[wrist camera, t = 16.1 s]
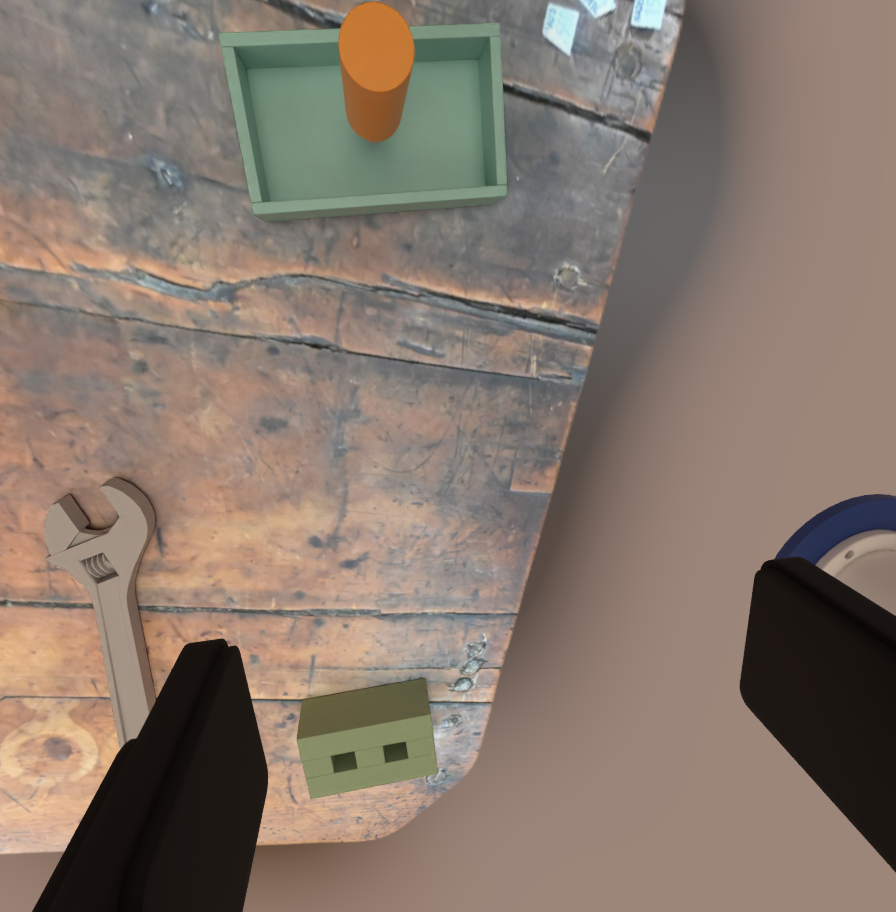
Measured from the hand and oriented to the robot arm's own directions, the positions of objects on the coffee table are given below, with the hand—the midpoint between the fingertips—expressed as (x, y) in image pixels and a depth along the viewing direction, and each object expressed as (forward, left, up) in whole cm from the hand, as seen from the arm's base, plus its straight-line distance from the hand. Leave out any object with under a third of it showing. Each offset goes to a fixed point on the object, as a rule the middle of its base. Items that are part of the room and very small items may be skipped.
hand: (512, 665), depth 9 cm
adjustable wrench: (+23, +16, -29) cm, 40 cm away
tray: (0, -15, -28) cm, 32 cm away
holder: (+6, +28, -28) cm, 41 cm away
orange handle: (0, -15, -28) cm, 31 cm away
